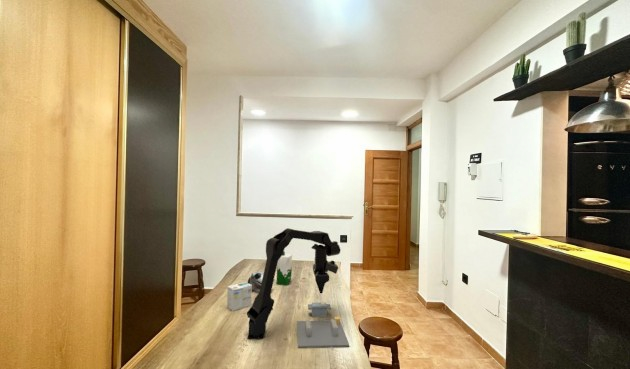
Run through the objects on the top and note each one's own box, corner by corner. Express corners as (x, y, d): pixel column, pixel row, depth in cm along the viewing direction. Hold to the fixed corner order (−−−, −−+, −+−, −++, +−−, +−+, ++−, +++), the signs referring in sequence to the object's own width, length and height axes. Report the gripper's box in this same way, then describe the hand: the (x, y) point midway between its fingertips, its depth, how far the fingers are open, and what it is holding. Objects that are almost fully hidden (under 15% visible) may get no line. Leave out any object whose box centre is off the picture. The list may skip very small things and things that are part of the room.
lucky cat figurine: (272, 284, 175) (278, 268, 170) (268, 299, 164) (274, 282, 158) (249, 277, 174) (254, 260, 169) (243, 291, 163) (248, 274, 158)
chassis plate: (298, 348, 108) (298, 336, 108) (296, 322, 127) (297, 313, 128) (349, 347, 109) (349, 335, 109) (340, 322, 129) (340, 312, 129)
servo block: (308, 316, 134) (308, 305, 134) (307, 312, 138) (307, 301, 138) (330, 316, 135) (331, 305, 135) (329, 312, 139) (329, 301, 139)
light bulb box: (245, 301, 149) (245, 281, 149) (251, 305, 144) (252, 284, 144) (226, 307, 141) (227, 285, 142) (232, 311, 137) (233, 289, 137)
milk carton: (279, 280, 184) (280, 249, 184) (292, 281, 182) (293, 250, 182) (274, 284, 175) (275, 252, 175) (288, 286, 173) (289, 254, 174)
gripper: (340, 262, 127) (339, 297, 127) (334, 252, 146) (333, 282, 146) (316, 262, 126) (315, 297, 126) (313, 252, 145) (312, 282, 145)
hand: (320, 289), depth 136 cm, fingers open, 9 cm apart
